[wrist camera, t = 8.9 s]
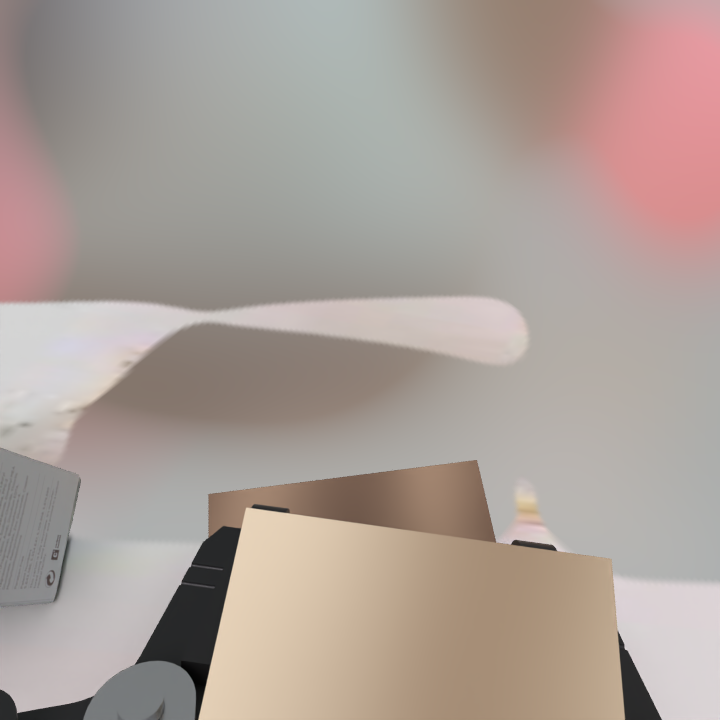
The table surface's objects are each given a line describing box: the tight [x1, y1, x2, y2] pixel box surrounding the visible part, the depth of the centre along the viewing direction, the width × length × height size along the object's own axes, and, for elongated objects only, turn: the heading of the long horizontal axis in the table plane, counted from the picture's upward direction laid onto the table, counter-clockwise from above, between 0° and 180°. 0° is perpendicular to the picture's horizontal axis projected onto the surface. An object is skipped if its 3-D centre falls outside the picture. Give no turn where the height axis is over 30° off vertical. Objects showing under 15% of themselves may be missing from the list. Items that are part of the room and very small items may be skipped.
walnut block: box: [209, 460, 496, 543], centre depth 20 cm, size 11×11×5 cm
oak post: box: [198, 508, 625, 720], centre depth 9 cm, size 5×4×9 cm
